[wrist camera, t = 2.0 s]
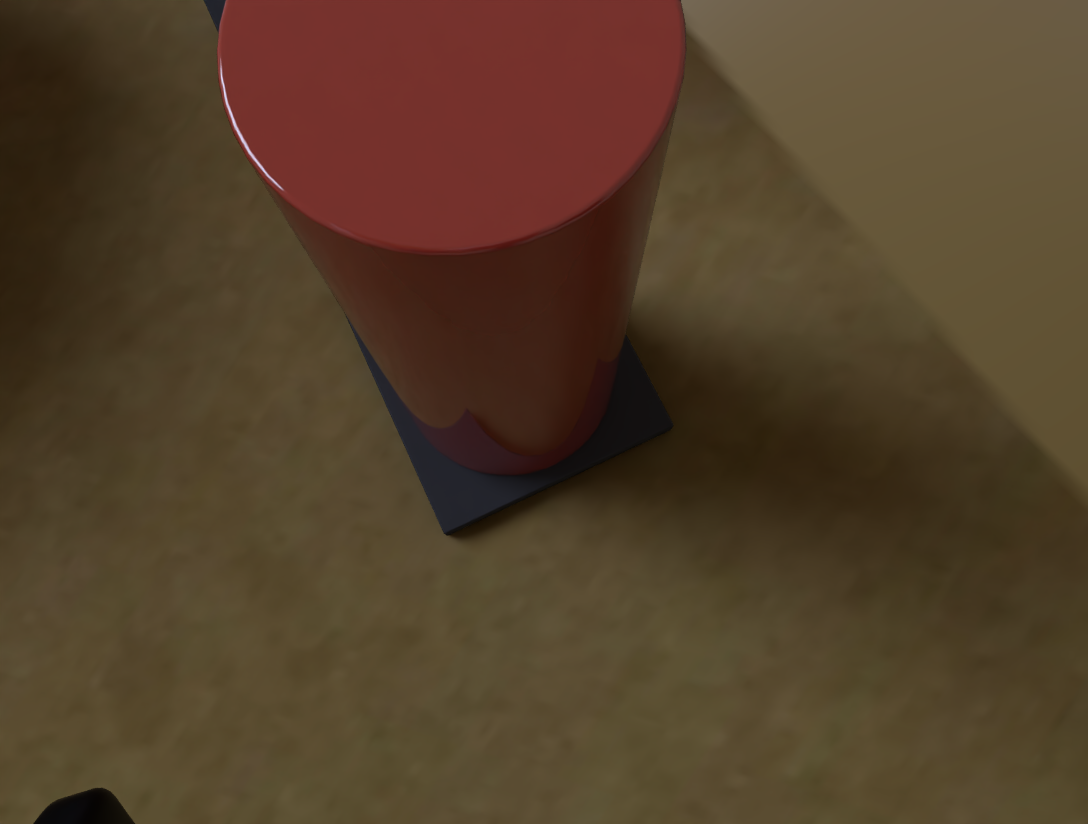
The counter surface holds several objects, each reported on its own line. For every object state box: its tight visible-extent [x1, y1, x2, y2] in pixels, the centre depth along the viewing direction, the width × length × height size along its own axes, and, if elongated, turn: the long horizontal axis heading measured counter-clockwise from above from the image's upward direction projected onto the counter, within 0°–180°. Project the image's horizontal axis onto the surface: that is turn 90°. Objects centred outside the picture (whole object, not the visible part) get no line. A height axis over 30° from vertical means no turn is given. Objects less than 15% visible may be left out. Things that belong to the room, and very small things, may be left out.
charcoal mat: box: [204, 0, 673, 535], centre depth 23 cm, size 19×6×1 cm, turn 26°
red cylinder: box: [217, 0, 687, 475], centre depth 15 cm, size 5×5×12 cm
